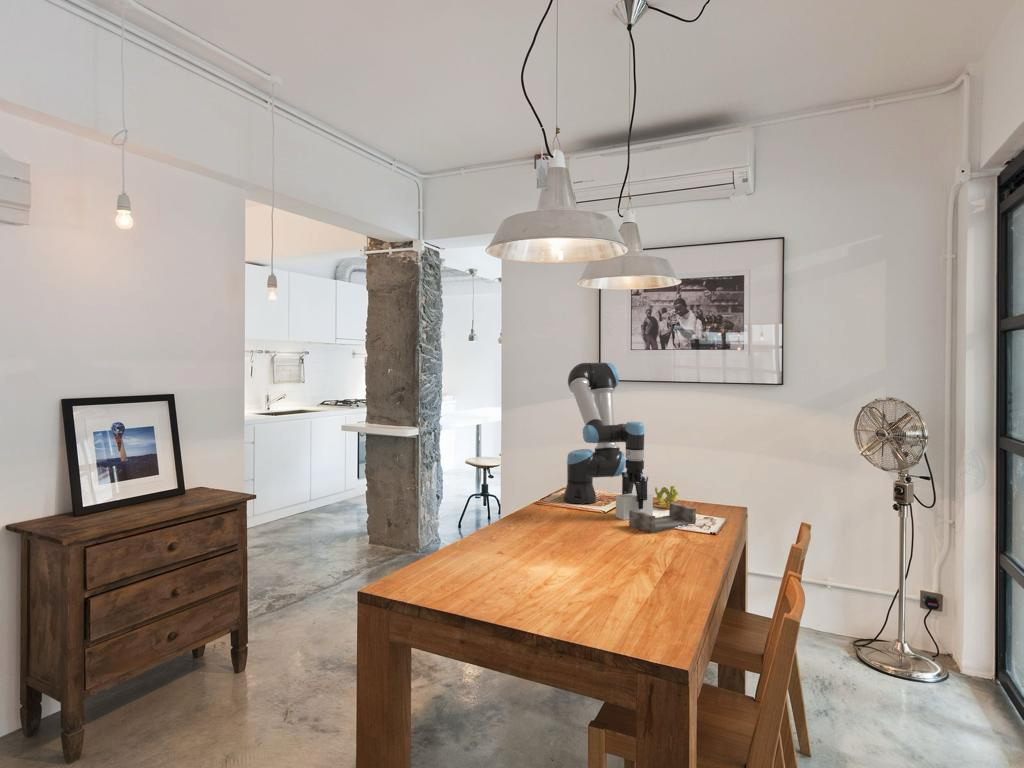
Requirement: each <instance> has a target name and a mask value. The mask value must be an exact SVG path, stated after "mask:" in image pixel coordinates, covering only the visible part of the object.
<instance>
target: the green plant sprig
mask: <svg viewBox="0 0 1024 768" xmlns="http://www.w3.org/2000/svg"><path fill="white" fill-rule="evenodd" d="M675 487H676V485H670V486H669V489H670V491H669V489H668V488H667V487H665V486H663V487H662V488H661V489H660V491H659V492H658V487H655V488H654V492H655V494H656V500H658V501H656V504H657V505H660V506H661V505H666V506H665V507H664V509H666V510H669V509H670V503H673V502H674V503H677V501H678V497H677V496H679V491H677V489H676V488H675ZM664 494H665V495H666V497H665V498H664ZM664 499H665V500H664Z"/></svg>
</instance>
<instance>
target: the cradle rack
mask: <svg viewBox="0 0 1024 768" xmlns="http://www.w3.org/2000/svg"><path fill="white" fill-rule="evenodd" d="M669 505H670V509H668V510H669V515H664V516H660V517H656V516H655V515H654V514H653V515H649V514H646V513H643V512H639V511H636V510H629V519H628V520H629V521H628V526H629V527H631V528H634V529H637V530H640V531H643V532H645V533H648V534H649V533H650V534H655V533H660V532H664V531H670V530H674V529H673V528H675V527H678V526H683V525H688V524H695V523H697V517H696V516H697V508H694V507H690V506H687V505H683V504H680V503H677V502H672V503H670V502H669ZM695 525H696V524H695ZM675 529H676V528H675Z"/></svg>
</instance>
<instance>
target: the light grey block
mask: <svg viewBox="0 0 1024 768" xmlns="http://www.w3.org/2000/svg"><path fill="white" fill-rule="evenodd" d="M636 500H638V499H637V493H636V492H632V493H629V494H623V495H622V494H619V495H618V494H617V495H615V518H617V519H619V520H623V521H625V520H629V510H636ZM653 502H654V493H653V492H648V491H647V500H644V501H643V509H642V512H643V513H646V514H649V515H650V514H653V513H654V509H653V508H654V503H653ZM653 515H654V514H653Z"/></svg>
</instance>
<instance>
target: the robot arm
mask: <svg viewBox="0 0 1024 768" xmlns="http://www.w3.org/2000/svg"><path fill="white" fill-rule="evenodd" d="M619 377H620V376H619V370H618V369H617V367H616V366H615V364H613V363H611V362H581V363H578V364H576V365H575V366H574V367H573V368H572V369H571V370H570V371H569V374H568V379H567V385H568V388H569V391H570V392H571V393H572V394H573V396H574V399H575V401H576V404H577V406H578V407H577V408H578V410H579V412H580V415H581V418H582V420H583V423H584V426H583V428H582V438H583V441H584V442H585V443H588V444H597V445H596V447H594V451H593V449H589V448H581V449H576V450H572V451H569V453H568V454H567V460H566V466H567V468H566V469H567V470H566V474H567V480H566V481H567V482H566V487H565V491H564V493H563V499H562V500H563V501H564V502H565V503H568V502H570V503H569V504H573V503H581V504H580V505H583V504H582V503H590V504H593V503H592V502H594V503H596V502H597V495H596V490H595V488H594V485H593V479H595V478H614V477H620V476H621V477H622V480H621V482H622V483H621V485H622V486H621V495H623V494H629V493H633V488H634V485H635V493H637V499H638V500H636V511H639V512H642V509H643V501H644V500H647V492H648V481H649V476H648V475H647V476H645V475H644V472H643V470H644V469H645V461H644V459H645V433H646V431H645V425H644V422H640V421H628V422H626V423H617V424H615V415H614V402H613V401H614V400H613V399H614V398H613V393H614V392H615V391H616V388H617V387H618V385H619V379H620V378H619ZM592 394H593V395H592ZM617 443H625V453H624V452H623V451H621V449H620V445H618V444H617ZM625 469H626V470H625ZM595 501H596V502H595Z"/></svg>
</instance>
